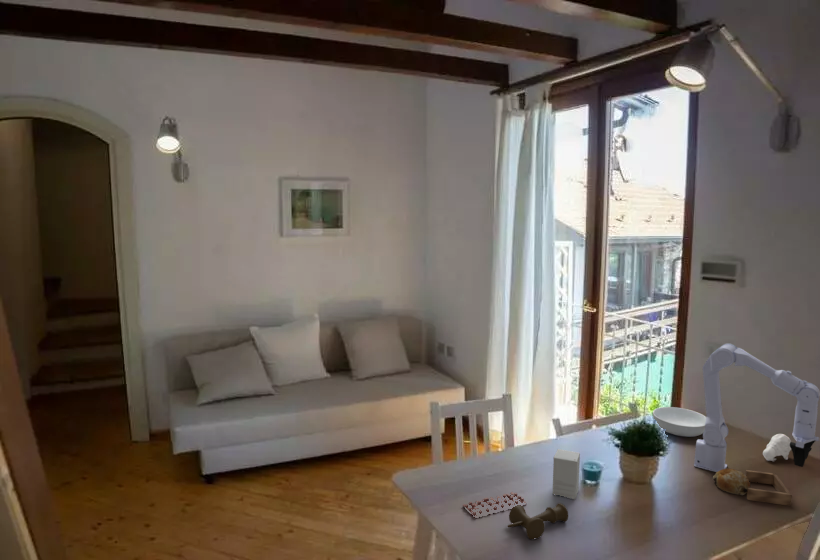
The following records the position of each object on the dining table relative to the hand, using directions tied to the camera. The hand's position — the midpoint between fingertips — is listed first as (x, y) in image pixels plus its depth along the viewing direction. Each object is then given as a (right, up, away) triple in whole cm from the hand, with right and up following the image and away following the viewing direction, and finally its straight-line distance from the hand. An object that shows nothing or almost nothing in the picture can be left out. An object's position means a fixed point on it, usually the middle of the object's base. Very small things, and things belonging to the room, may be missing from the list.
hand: (800, 461), depth 179 cm
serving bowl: (-16, -4, +48) cm, 51 cm away
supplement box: (-76, -10, -1) cm, 77 cm away
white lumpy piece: (+8, -7, +25) cm, 27 cm away
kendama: (-90, -12, -21) cm, 93 cm away
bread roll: (-21, -10, +3) cm, 23 cm away
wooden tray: (-12, -10, 0) cm, 16 cm away
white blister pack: (-100, -11, -10) cm, 101 cm away
